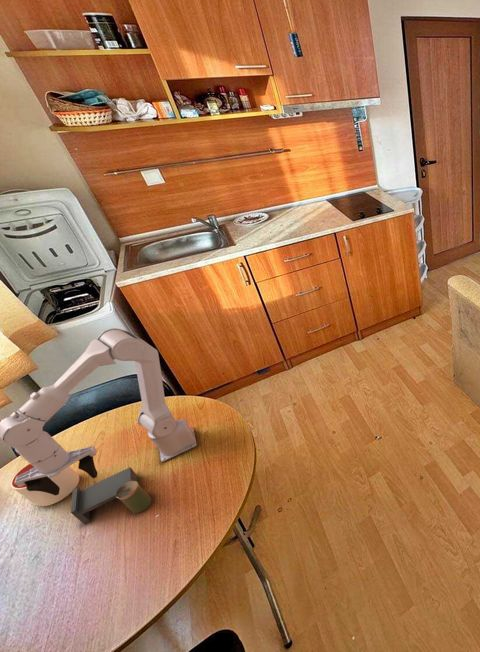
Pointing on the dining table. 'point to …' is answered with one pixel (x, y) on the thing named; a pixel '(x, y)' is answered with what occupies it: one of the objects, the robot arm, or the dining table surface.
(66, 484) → the cup
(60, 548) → the dining table surface
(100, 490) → the grey channel-top block
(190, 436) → the robot arm
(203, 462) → the dining table surface
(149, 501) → the canister
